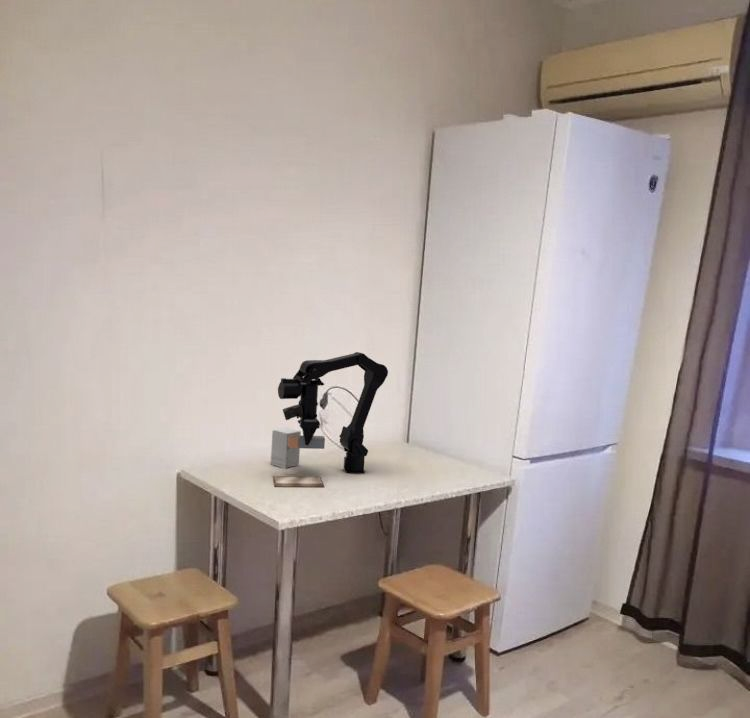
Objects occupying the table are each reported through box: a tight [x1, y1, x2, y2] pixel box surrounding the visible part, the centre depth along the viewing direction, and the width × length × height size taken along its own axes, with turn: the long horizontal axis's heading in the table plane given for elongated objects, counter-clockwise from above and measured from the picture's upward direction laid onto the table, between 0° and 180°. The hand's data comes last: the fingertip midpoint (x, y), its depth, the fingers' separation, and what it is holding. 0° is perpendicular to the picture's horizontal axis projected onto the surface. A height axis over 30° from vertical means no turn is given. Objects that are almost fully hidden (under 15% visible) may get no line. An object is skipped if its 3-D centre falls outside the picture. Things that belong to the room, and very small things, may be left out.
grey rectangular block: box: [288, 435, 326, 450], centre depth 242 cm, size 12×4×4 cm, turn 101°
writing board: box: [272, 475, 325, 488], centre depth 234 cm, size 16×11×1 cm
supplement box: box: [270, 427, 302, 469], centre depth 254 cm, size 7×7×13 cm
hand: (306, 443), depth 242 cm, fingers closed on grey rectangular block, 4 cm apart
